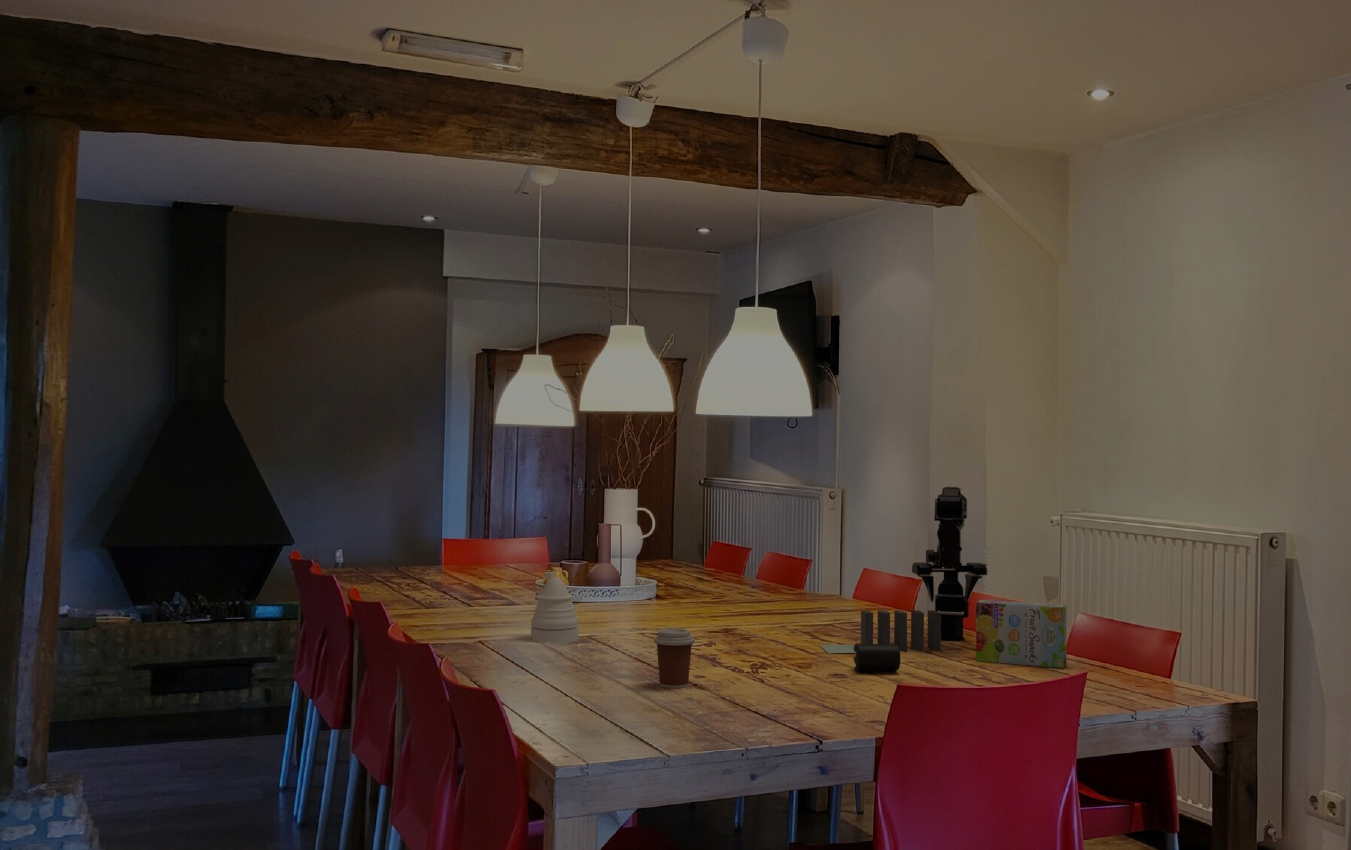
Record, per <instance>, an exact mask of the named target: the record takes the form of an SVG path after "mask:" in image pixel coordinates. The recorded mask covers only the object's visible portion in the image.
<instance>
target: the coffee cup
mask: <svg viewBox="0 0 1351 850" xmlns="http://www.w3.org/2000/svg"><path fill="white" fill-rule="evenodd" d="M695 641H696V640H695V638H694V637H693V635H691V631H690V630H689V629H686V628H678V627H677V628H676V627H675V628H663V629H659V630H658V634H657V635H656V636H654V638H653V642H654V644H656V648H657V649H656V650H657V665H658V666H657V667H658V677H659V679H658V681H659V685H658V686H659V687H661V688H666V689H683V688H688V687H689V681H690V680H689V679H690V678H689V677H690V667H691V657H692V645H693V644H695Z"/></svg>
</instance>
